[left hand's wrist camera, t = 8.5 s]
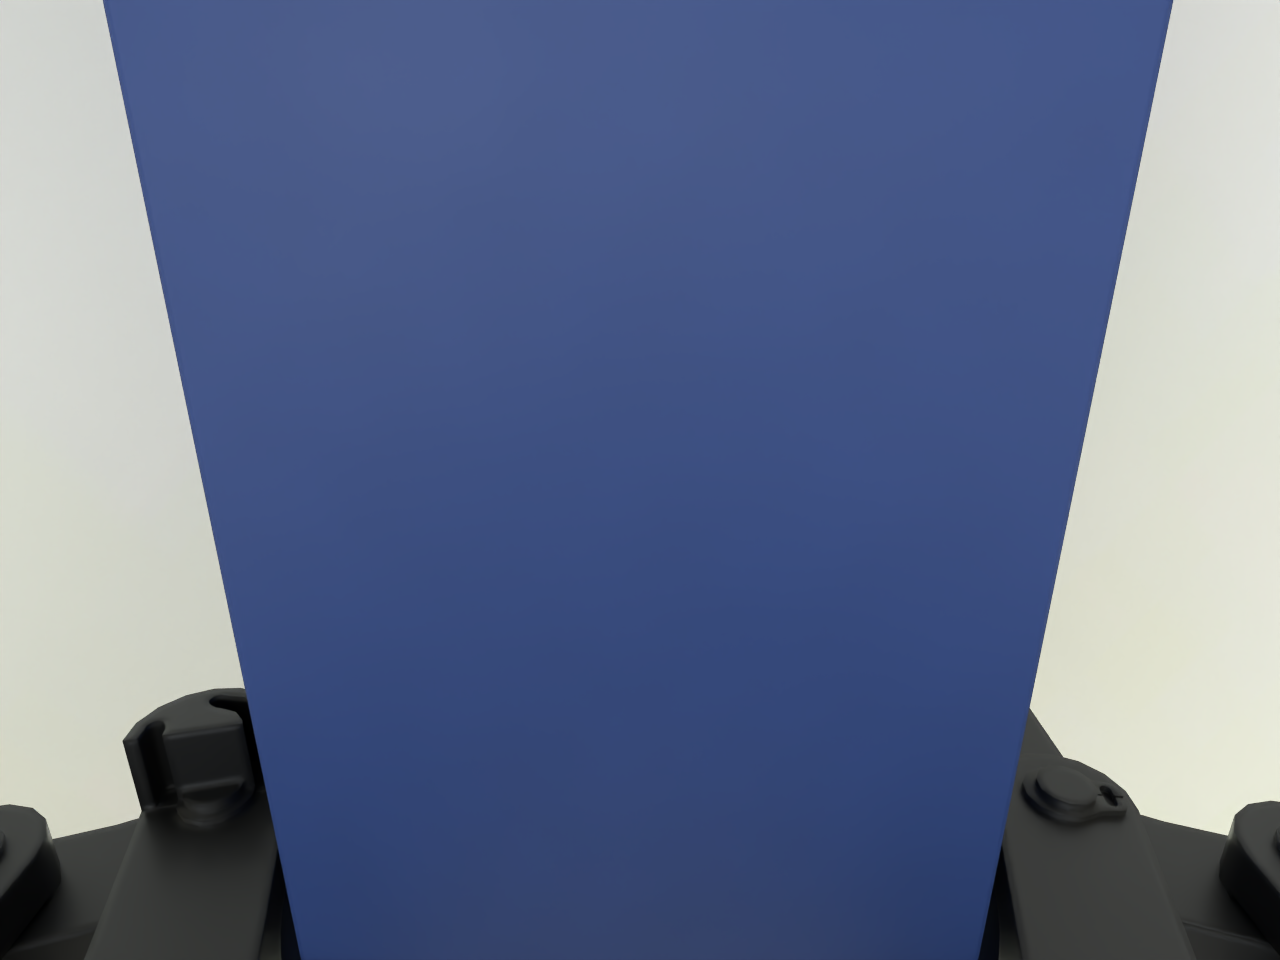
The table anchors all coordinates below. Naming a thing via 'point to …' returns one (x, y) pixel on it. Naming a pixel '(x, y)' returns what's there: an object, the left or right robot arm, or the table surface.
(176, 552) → the table surface
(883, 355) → the bar
